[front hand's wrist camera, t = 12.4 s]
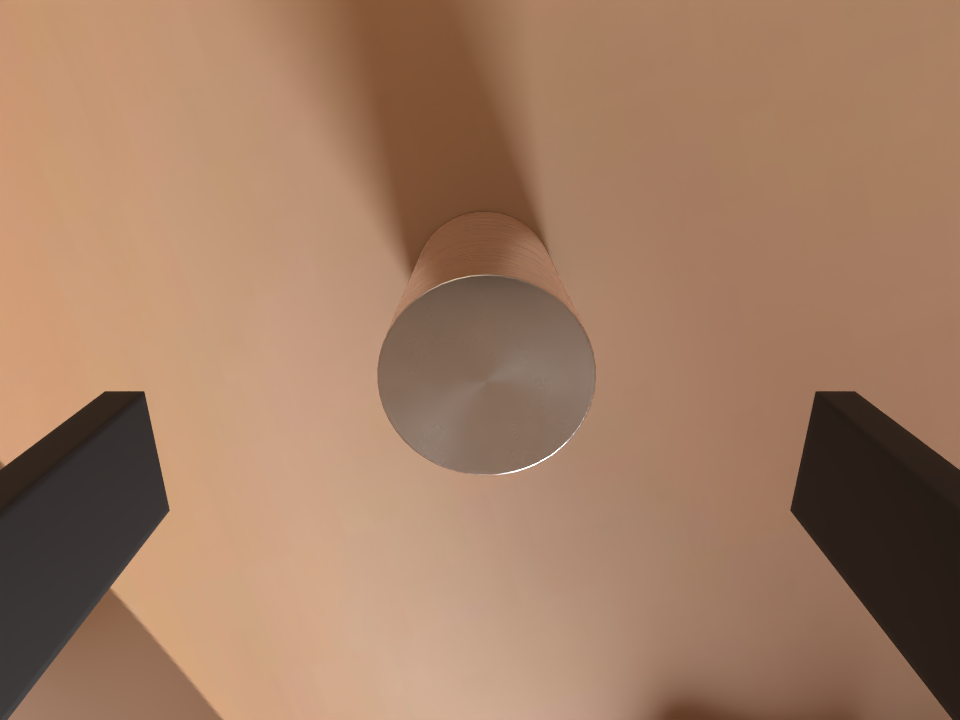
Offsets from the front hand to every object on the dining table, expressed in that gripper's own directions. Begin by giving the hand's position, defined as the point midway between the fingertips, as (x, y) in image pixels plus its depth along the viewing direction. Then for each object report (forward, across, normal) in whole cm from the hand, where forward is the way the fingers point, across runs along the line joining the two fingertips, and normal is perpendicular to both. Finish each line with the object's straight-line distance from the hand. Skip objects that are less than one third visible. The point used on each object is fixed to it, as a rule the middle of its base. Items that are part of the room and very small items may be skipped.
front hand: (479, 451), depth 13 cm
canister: (+15, 0, 0) cm, 15 cm away
